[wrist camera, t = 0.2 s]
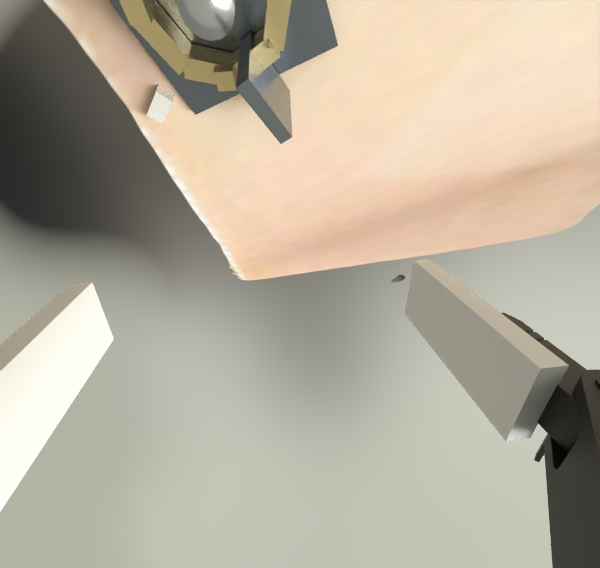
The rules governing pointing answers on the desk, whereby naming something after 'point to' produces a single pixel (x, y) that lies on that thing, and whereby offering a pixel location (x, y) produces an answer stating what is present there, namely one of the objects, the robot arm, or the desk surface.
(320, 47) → the housing plate
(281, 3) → the block with gold ring
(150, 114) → the small white rectangular block
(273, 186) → the desk surface
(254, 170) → the desk surface
